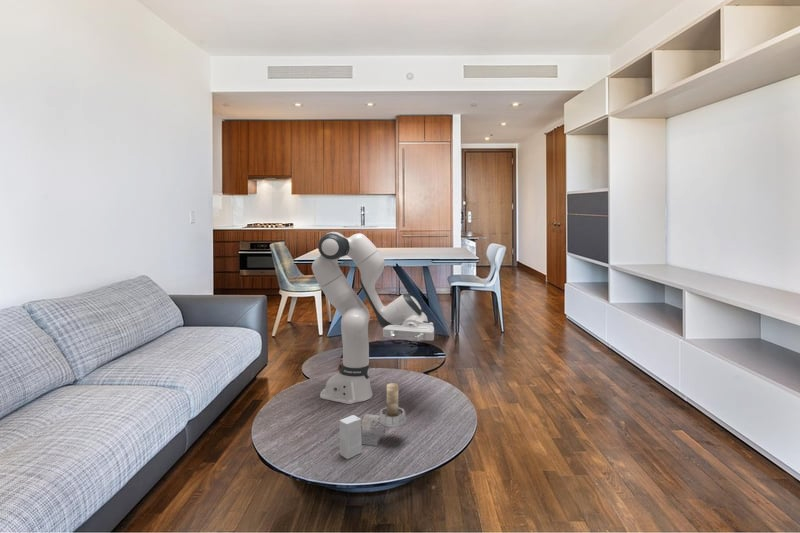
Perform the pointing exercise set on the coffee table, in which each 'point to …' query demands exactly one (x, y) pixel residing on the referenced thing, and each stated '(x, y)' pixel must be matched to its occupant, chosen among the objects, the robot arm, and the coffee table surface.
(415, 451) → the coffee table surface
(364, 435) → the cup bracket
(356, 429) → the skincare box
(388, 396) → the rail post
